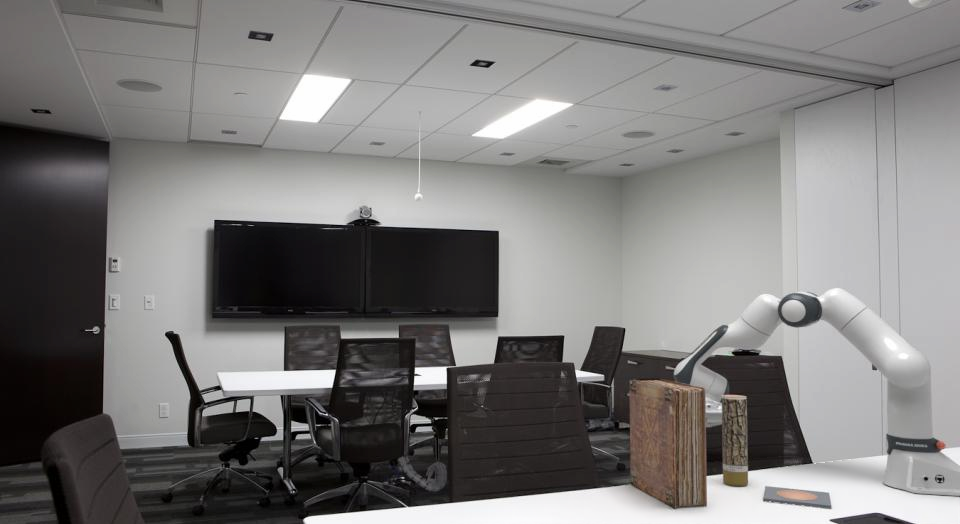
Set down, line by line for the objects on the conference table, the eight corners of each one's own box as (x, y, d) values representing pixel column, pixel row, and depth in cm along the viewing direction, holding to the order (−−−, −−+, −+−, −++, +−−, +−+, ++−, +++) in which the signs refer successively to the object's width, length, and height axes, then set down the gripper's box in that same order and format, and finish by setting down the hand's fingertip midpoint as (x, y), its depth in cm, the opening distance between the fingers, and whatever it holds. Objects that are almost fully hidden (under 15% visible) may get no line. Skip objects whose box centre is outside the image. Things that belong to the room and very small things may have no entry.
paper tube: (750, 487, 197) (748, 398, 199) (724, 486, 198) (723, 397, 200) (746, 482, 204) (744, 395, 205) (721, 480, 205) (720, 394, 207)
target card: (829, 495, 189) (829, 492, 189) (831, 508, 176) (831, 505, 177) (765, 488, 196) (765, 485, 196) (763, 501, 183) (763, 497, 183)
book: (707, 507, 177) (705, 387, 179) (674, 509, 175) (673, 388, 177) (659, 483, 202) (658, 378, 204) (629, 484, 200) (629, 378, 202)
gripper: (674, 402, 228) (685, 408, 215) (737, 403, 228) (752, 410, 214) (673, 421, 228) (685, 429, 214) (737, 423, 228) (752, 430, 214)
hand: (719, 419), depth 214 cm, fingers open, 8 cm apart
